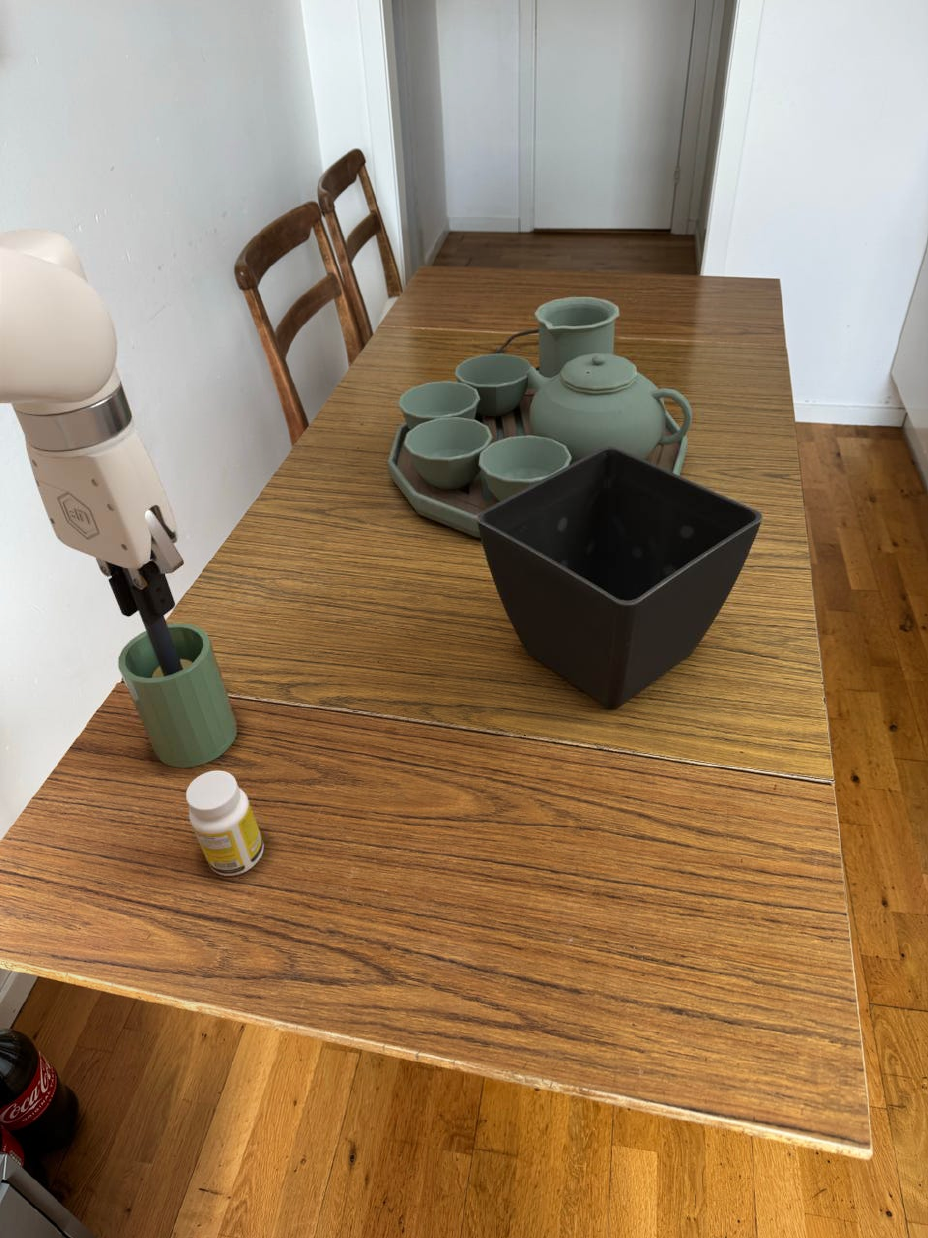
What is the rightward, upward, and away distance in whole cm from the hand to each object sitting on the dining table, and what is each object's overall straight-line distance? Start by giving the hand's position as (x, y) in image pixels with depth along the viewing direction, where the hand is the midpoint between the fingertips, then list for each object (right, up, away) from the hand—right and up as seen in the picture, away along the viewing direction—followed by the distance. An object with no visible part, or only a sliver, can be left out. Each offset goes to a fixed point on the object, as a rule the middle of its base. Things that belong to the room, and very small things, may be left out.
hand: (149, 610), depth 76 cm
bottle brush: (+1, -10, +9) cm, 14 cm away
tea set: (+37, +20, +46) cm, 62 cm away
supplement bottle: (+8, -21, -1) cm, 22 cm away
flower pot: (+42, -4, +15) cm, 45 cm away
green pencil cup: (+1, -12, +10) cm, 16 cm away
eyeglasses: (+41, +42, +72) cm, 93 cm away
